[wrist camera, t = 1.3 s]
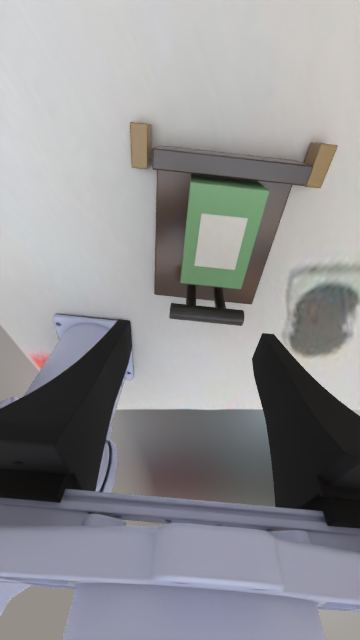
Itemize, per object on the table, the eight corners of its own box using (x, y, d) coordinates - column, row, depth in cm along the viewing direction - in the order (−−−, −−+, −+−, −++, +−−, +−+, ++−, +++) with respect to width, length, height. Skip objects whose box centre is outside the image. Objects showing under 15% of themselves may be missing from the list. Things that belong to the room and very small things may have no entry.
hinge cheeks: (311, 183, 16) (320, 188, 15) (136, 164, 16) (131, 167, 15) (326, 144, 15) (338, 145, 14) (135, 122, 15) (129, 121, 13)
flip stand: (250, 299, 22) (261, 334, 18) (155, 290, 22) (147, 323, 18) (296, 160, 15) (329, 170, 12) (159, 145, 15) (146, 150, 11)
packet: (235, 270, 20) (241, 290, 17) (182, 265, 20) (180, 284, 17) (258, 181, 16) (270, 190, 13) (191, 174, 15) (190, 182, 13)
